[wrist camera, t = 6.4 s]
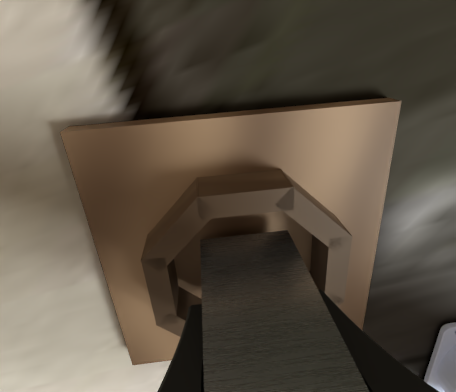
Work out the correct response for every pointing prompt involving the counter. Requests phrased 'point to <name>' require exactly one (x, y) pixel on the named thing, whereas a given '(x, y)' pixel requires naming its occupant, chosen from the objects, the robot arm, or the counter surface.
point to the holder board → (231, 202)
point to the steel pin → (268, 321)
